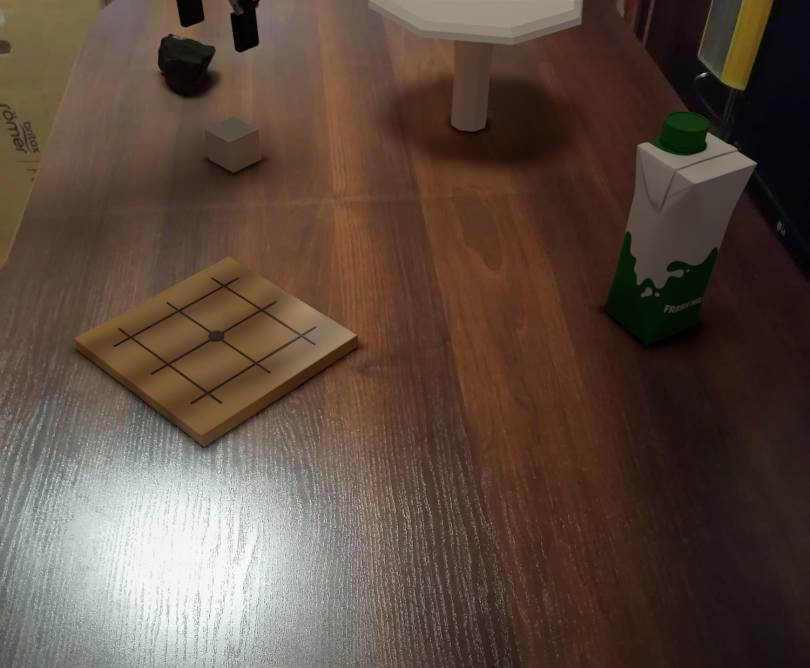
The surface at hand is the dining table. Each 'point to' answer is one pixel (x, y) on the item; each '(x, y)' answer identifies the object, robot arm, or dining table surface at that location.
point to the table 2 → (478, 38)
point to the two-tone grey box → (233, 144)
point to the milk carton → (675, 226)
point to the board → (216, 348)
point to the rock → (183, 62)
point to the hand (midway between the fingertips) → (219, 35)
